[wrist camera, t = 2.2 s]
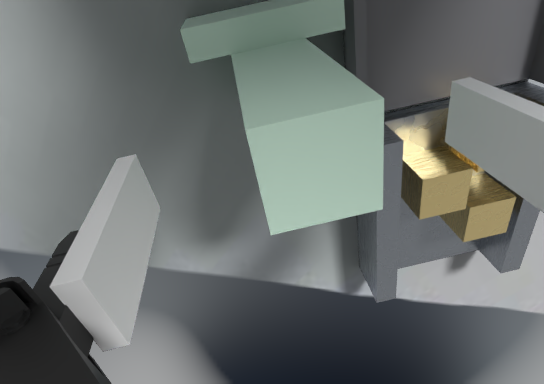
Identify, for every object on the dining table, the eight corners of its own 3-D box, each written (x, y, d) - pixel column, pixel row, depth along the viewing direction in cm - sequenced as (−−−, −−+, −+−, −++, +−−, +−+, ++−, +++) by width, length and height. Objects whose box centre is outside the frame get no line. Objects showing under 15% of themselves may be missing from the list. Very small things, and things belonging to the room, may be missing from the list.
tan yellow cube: (443, 182, 31) (470, 207, 28) (484, 173, 31) (516, 197, 28) (438, 215, 34) (463, 242, 30) (477, 206, 34) (506, 232, 30)
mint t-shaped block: (186, 18, 22) (145, 89, 9) (320, -11, 23) (467, 17, 9) (211, 106, 26) (209, 249, 13) (327, 80, 26) (443, 195, 13)
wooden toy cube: (399, 156, 29) (423, 180, 26) (444, 145, 29) (473, 168, 26) (397, 193, 31) (419, 219, 28) (439, 183, 31) (465, 208, 28)
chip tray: (338, -62, 21) (351, -65, 19) (581, -115, 21) (620, -124, 19) (347, 116, 28) (358, 128, 26) (532, 74, 28) (557, 82, 26)
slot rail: (353, 120, 28) (376, 146, 24) (525, 81, 29) (578, 100, 24) (359, 266, 38) (376, 302, 34) (486, 236, 39) (519, 268, 35)
